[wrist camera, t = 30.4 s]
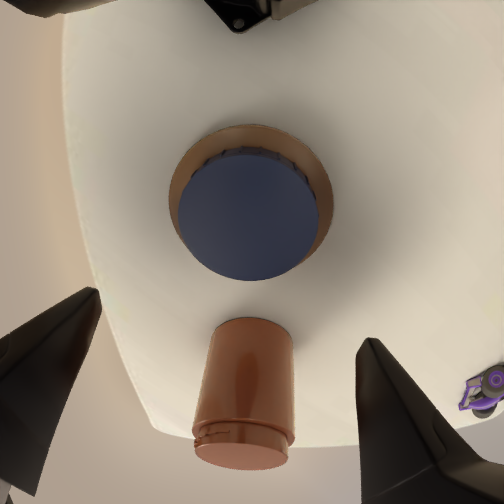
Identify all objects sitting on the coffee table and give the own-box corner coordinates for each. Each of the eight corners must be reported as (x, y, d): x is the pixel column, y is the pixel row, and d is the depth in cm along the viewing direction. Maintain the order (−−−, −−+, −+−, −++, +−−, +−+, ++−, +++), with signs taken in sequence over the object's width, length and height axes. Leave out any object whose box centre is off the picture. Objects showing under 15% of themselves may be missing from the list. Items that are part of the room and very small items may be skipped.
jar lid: (322, 254, 17) (326, 271, 16) (206, 272, 19) (201, 289, 17) (304, 133, 14) (307, 140, 12) (168, 163, 15) (157, 173, 14)
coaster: (141, 187, 17) (137, 191, 16) (272, 90, 13) (271, 91, 13) (234, 292, 20) (233, 298, 20) (358, 227, 17) (361, 232, 16)
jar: (194, 336, 23) (166, 445, 15) (262, 304, 21) (254, 433, 13) (243, 377, 25) (232, 475, 18) (307, 353, 23) (313, 463, 15)
